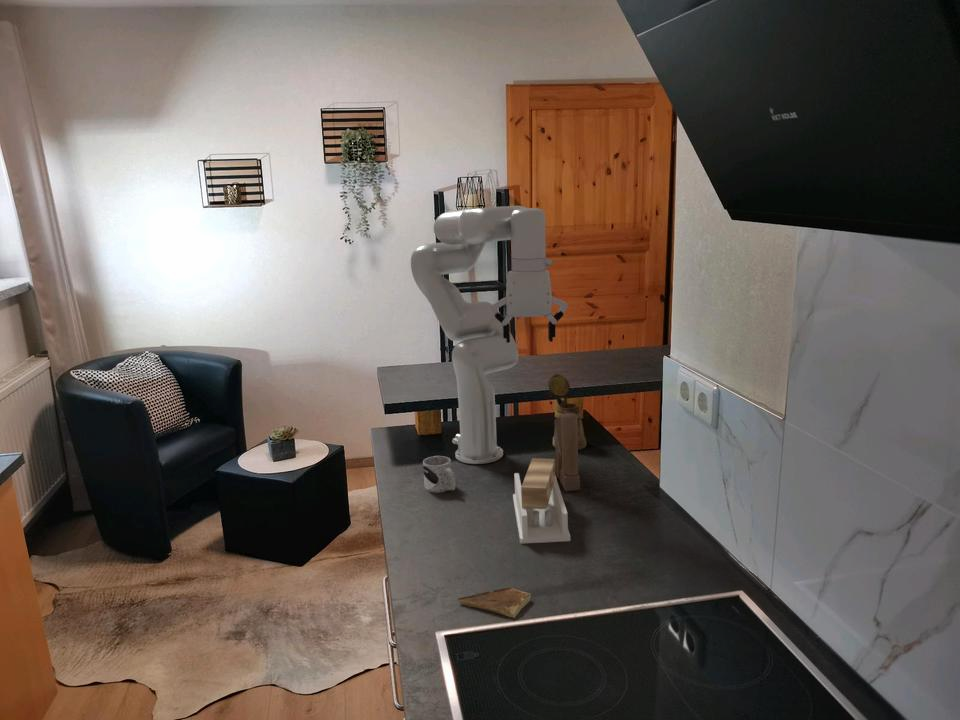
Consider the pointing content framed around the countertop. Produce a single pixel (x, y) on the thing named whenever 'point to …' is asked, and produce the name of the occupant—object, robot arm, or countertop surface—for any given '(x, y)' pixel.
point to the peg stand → (541, 518)
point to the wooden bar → (538, 483)
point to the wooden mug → (566, 405)
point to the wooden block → (567, 451)
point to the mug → (438, 474)
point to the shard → (499, 601)
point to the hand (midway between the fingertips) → (529, 340)
